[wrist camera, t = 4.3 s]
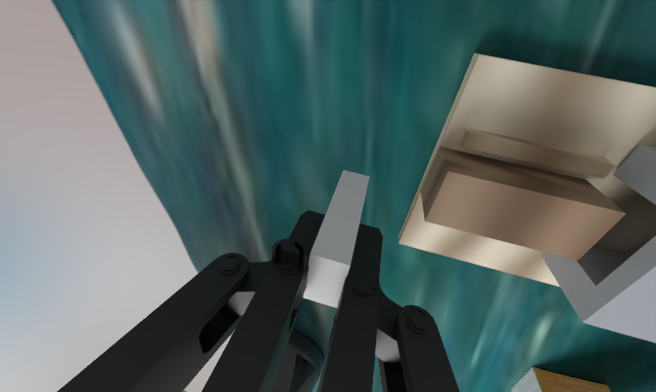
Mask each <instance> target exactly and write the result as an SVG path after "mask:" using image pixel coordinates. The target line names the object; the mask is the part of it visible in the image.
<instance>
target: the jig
mask: <svg viewBox="0 0 656 392" xmlns="http://www.w3.org/2000/svg"><path fill="white" fill-rule="evenodd" d="M640 144H641V145H646V146H651V147H655V148H656V87H652V86H647V85H642V84H636V83H631V82H626V81H620V80H615V79H610V78H605V77H599V76H594V75H589V74H583V73H578V72H573V71H567V70H562V69H557V68H552V67H546V66H541V65H536V64H530V63H525V62H520V61H514V60H509V59H504V58H499V57H493V56H488V55H483V54H477V53H474V55H473V57H472V60H471V62H470V64H469V67H468V69H467V72H466V74H465V76H464V79H463V81H462V84H461V86H460V89H459V91H458V93H457V96H456V98H455V101H454V103H453V105H452V108H451V110H450V113H449V115H448V117H447V120H446V122H445V125H444V127H443V129H442V132H441V134H440V137H439V139H438V142H437V144H436V146H435V149H434V151H433V154H432V156H431V158H430V161H429V163H428V166H427V168H426V170H425V173H424V175H423V178H422V180H421V182H420V185H419V187H418V190H417V192H416V195H415V197H414V199H413V202H412V204H411V207H410V209H409V211H408V214H407V216H406V219H405V221H404V223H403V226H402V228H401V231H400V233H399V244H402V245H406V246H410V247H414V248H417V249H421V250H425V251H428V252H432V253H436V254H440V255H443V256H447V257H451V258H455V259H458V260H462V261H466V262H470V263H473V264H477V265H481V266H484V267H488V268H492V269H496V270H499V271H503V272H507V273H511V274H514V275H518V276H522V277H525V278H529V279H533V280H537V281H540V282H544V283H548V284H552V285H555V286H559V284H558V282H557V281H556V279H555V277H554V276H553V274H552V273H551V271H550V269H549V268H548V266H547V264H546V263H545V261H544V260H543V258H542V256H541V255H542V254H543V253H544V252H542V251H538V250H534V249H530V248H527V247H523V246H519V245H515V244H511V243H507V242H503V241H499V240H495V239H492V238H488V237H484V236H480V235H476V234H472V233H468V232H464V231H460V230H457V229H453V228H449V227H445V226H441V225H437V224H433V223H429V222H425V220H424V212H423V205H422V197H421V190H422V187H423V185H424V183H425V180H426V178H427V176H428V173H429V171H430V169H431V166H432V164H433V161H434V159H435V157H436V154H437V152H438V150H439V147H445V148H449V149H454V150H458V151H462V152H467V153H471V154H476V155H480V156H484V157H489V158H493V159H498V160H502V161H506V162H511V163H515V164H520V165H524V166H528V167H533V168H537V169H542V170H546V171H551V172H555V173H559V174H564V175H568V176H573V177H577V178H581V179H586V180H587V181H588V182H589V183H591V184H592V185H593V186H594V187H595V188H597V189H598V190H599V191H600V192H601V193H603V194H604V195H605V196H606V197H607V198H609V199H610V200H611V201H612V202H614V203H615V204H616V205H617V206H618V207H620V208H621V209H622V210H623V211H624V212H626V214H625V215H624V216H623V217H622V218H621V219H620V220H619V221H618V222H617V223H616V224H615V225H614V226H613V227H612V228H611V229H610V230H609V231H608V232H607V233H606V234H605V235H604V236H603V237H602V238H601V239H600V240H599V241H598V242H597V243H596V244H595V246H599V247H603V248H607V249H611V250H615V251H619V252H623V253H627V254H631V255H633V254H634V253H636V252H637V251H638V250H639V249H640V248H642V247H643V246H644V245H645V244H646V243H647V242H649V241H650V240H651V239H652V238H653V237H655V236H656V205H655V204H654V203H652V202H651V201H649V200H648V199H646V198H645V197H644V196H642V195H641V194H639V193H638V192H636V191H635V190H634V189H632V188H631V187H629V186H628V185H626V184H625V183H624V182H622V181H621V180H619V179H618V178H616V177H615V176H614V175H613V174H614V173H615V172H616V171H617V170H618V169H619V168H620V166H621V165H622V164H623V163H624V162H625V161H626V160H627V159H628V158H629V156H630V155H631V154H632V153H633V152H634V151H635V150H636V149H637V147H638V146H639V145H640ZM559 287H560V286H559Z"/></svg>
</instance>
